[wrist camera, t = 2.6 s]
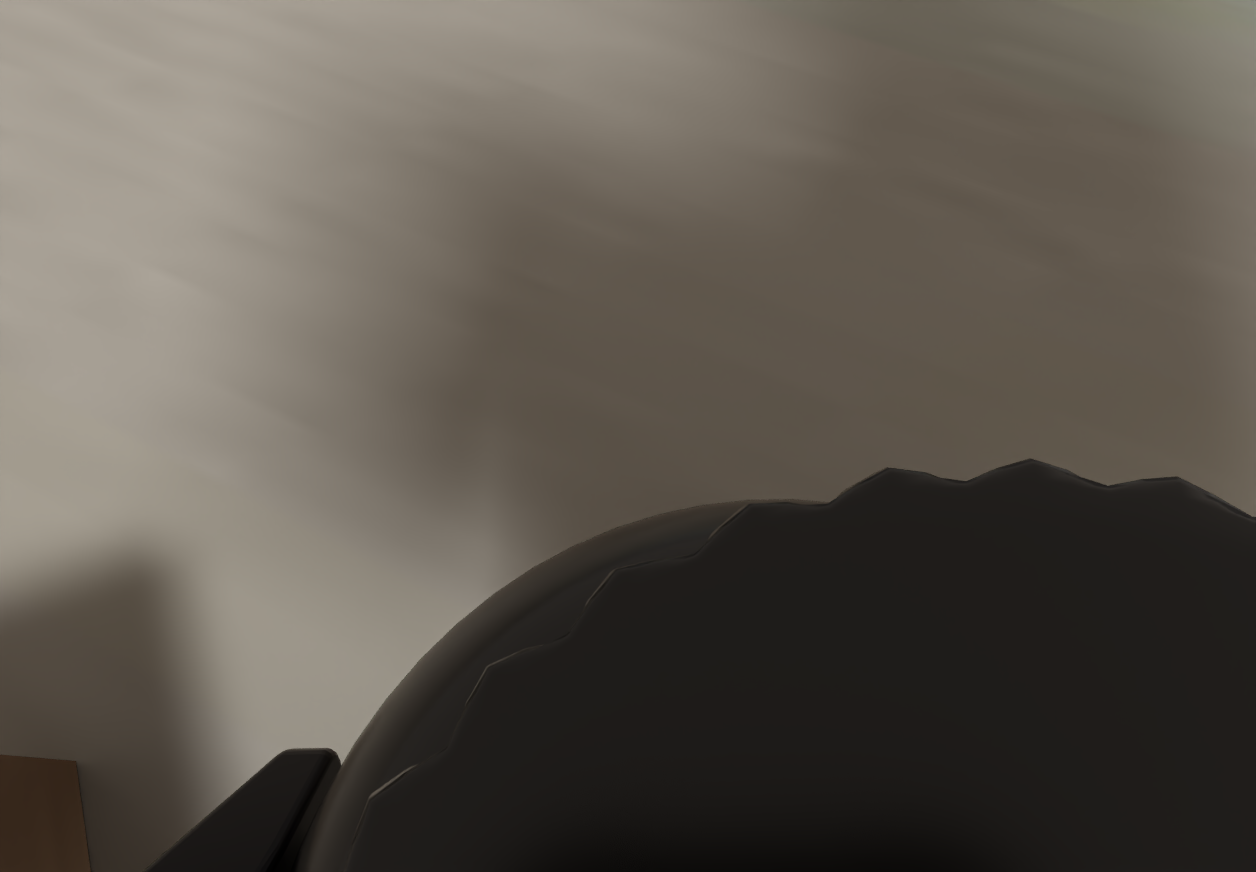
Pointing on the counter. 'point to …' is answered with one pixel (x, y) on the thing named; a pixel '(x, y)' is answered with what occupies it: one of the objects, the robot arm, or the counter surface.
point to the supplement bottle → (838, 693)
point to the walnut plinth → (41, 816)
